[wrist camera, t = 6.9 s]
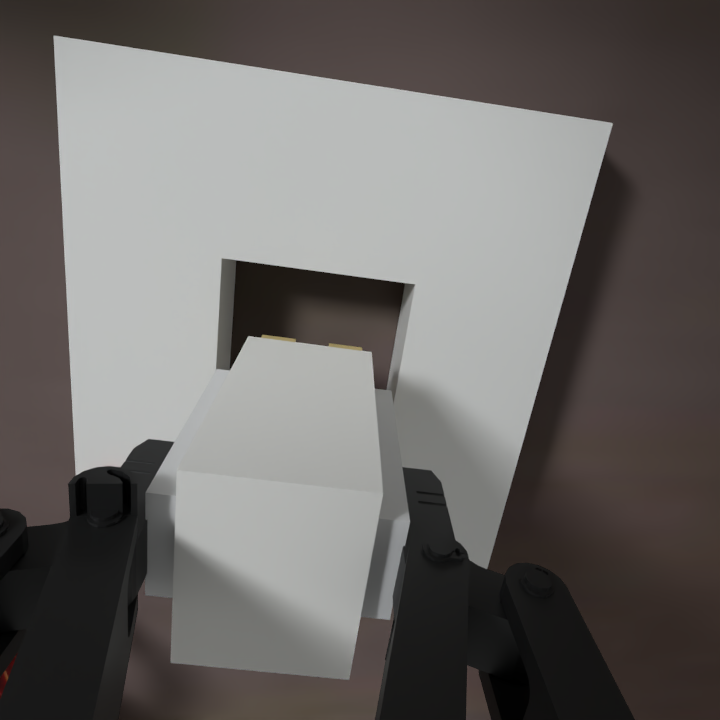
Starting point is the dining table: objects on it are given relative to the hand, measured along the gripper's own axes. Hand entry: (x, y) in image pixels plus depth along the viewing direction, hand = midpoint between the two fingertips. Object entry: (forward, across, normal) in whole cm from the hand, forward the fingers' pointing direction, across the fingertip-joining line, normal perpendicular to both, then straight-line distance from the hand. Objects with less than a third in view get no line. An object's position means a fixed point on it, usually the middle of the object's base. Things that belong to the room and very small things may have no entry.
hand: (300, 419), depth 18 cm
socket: (+7, 0, 0) cm, 7 cm away
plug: (+3, 0, 0) cm, 3 cm away
